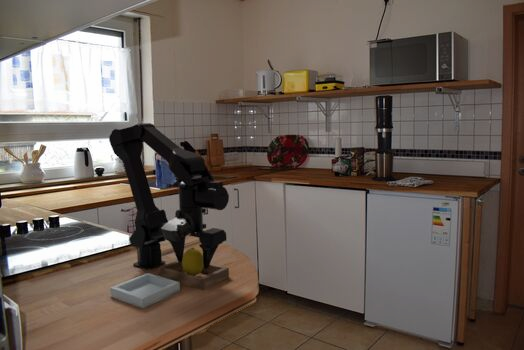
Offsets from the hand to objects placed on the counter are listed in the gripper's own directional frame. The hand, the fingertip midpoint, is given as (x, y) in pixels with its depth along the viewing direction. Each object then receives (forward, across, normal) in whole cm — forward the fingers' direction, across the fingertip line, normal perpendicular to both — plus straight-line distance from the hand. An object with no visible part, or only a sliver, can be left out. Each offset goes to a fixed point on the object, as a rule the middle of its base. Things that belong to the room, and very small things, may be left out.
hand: (192, 264), depth 112 cm
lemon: (+4, 0, 0) cm, 4 cm away
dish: (+3, -2, -14) cm, 15 cm away
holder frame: (+3, 0, 0) cm, 3 cm away
